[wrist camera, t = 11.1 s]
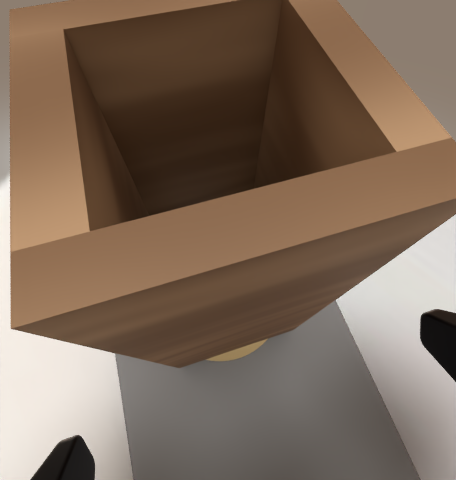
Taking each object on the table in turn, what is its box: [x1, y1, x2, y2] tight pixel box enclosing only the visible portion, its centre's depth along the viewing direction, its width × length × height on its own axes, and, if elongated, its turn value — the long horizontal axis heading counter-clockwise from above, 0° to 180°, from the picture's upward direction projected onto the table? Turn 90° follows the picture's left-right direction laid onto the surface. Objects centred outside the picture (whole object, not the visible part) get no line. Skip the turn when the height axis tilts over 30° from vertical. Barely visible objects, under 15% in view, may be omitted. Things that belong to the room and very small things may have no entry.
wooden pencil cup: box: [10, 0, 456, 368], centre depth 10 cm, size 6×6×12 cm
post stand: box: [115, 300, 420, 480], centre depth 14 cm, size 16×12×5 cm
